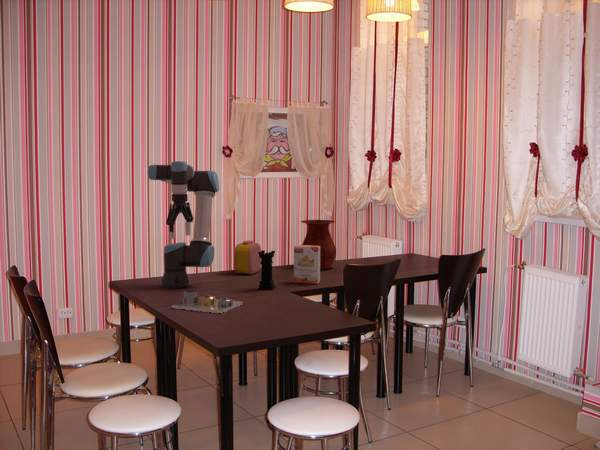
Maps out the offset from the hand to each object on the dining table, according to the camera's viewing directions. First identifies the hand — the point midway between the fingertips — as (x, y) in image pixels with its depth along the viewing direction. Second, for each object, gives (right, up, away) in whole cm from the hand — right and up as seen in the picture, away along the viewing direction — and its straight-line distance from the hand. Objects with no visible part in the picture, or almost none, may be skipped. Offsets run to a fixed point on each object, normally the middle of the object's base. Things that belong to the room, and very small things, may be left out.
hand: (180, 237), depth 318 cm
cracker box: (+62, -27, +47) cm, 82 cm away
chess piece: (+40, -28, +30) cm, 58 cm away
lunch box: (+27, -24, +78) cm, 86 cm away
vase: (+70, -22, +97) cm, 121 cm away
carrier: (+15, -32, -13) cm, 38 cm away
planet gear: (+7, -30, -10) cm, 33 cm away
